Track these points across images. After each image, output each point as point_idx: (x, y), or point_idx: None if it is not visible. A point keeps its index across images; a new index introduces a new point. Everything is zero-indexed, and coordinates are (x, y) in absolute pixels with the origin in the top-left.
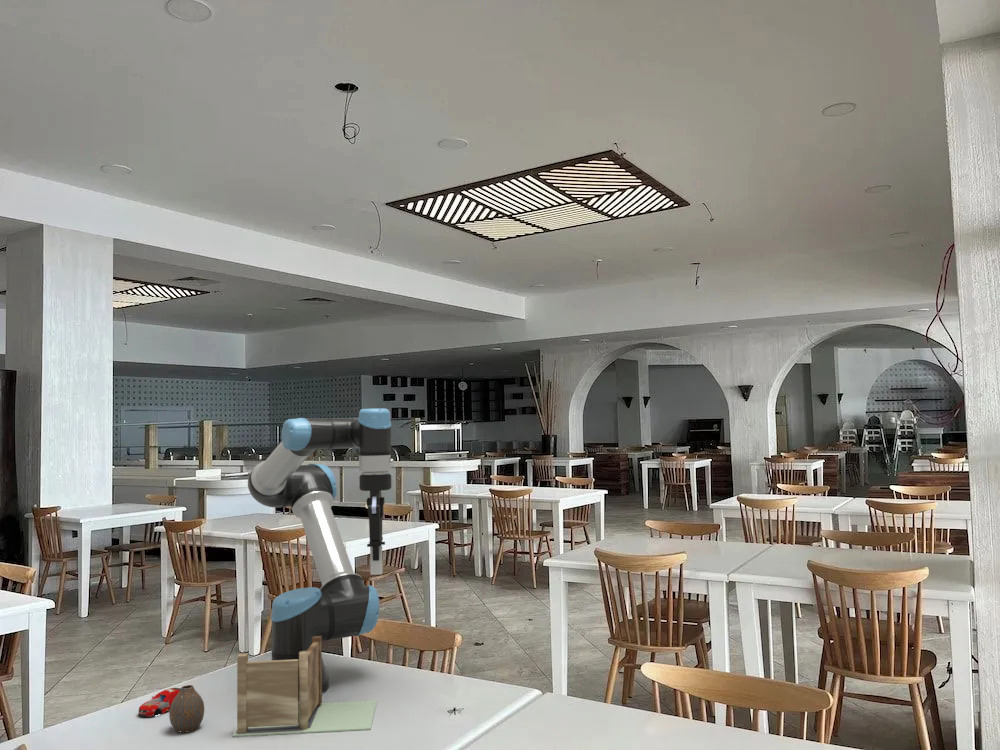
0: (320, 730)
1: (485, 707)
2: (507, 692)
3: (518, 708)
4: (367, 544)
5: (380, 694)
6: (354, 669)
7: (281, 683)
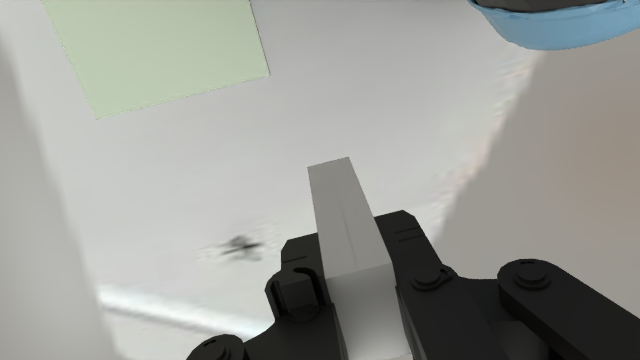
0: (47, 5)
1: None
2: None
3: None
4: (279, 287)
5: (321, 66)
6: None
7: None
